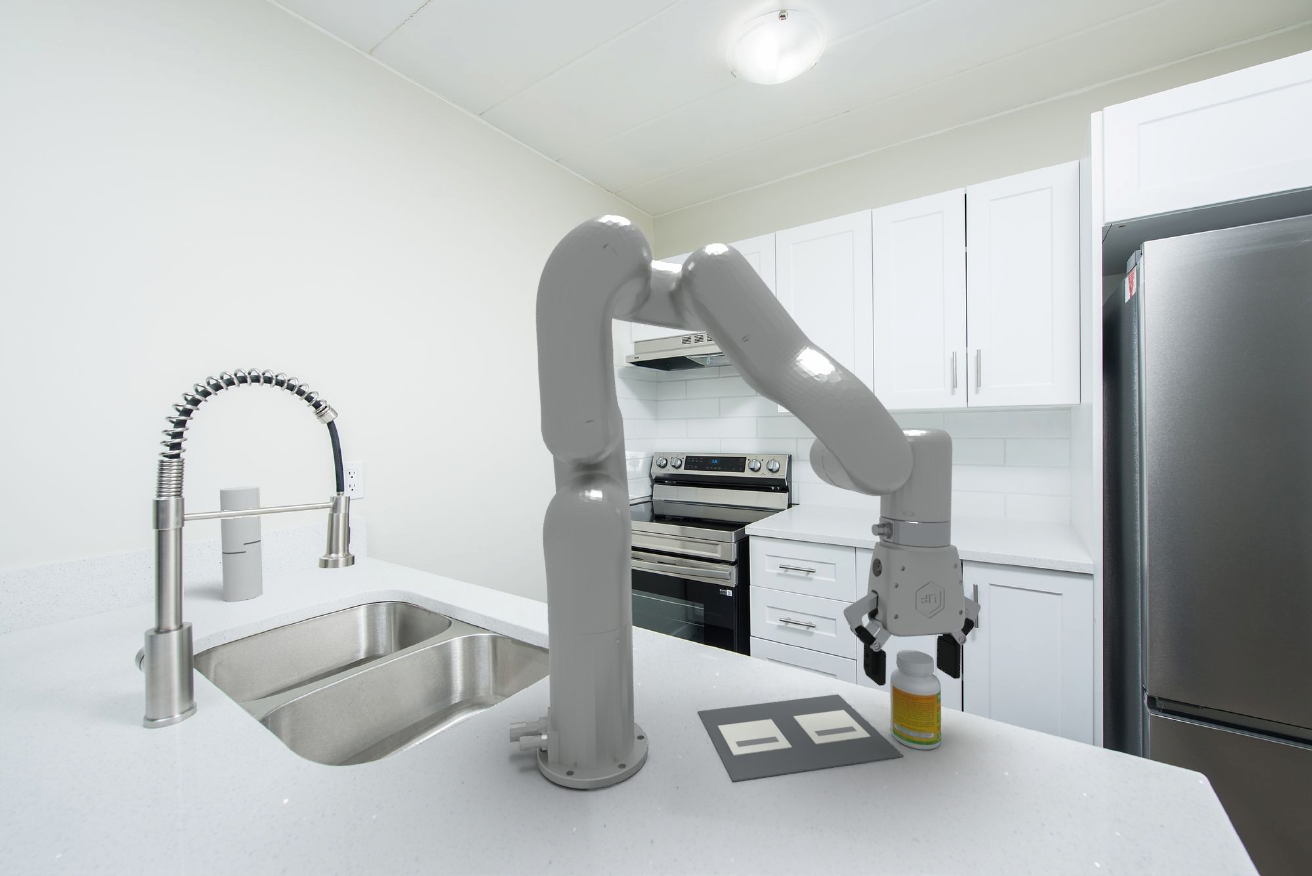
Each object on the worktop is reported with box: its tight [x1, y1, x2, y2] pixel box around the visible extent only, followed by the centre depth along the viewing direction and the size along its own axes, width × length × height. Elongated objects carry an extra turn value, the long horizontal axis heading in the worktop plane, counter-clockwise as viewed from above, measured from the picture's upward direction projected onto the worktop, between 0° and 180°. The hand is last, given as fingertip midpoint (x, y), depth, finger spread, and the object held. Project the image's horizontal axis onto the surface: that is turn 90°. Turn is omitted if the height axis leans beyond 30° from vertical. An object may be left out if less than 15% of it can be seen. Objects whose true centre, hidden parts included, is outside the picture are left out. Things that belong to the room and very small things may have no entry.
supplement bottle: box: [889, 649, 942, 751], centre depth 63 cm, size 5×5×10 cm
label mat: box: [697, 693, 905, 783], centre depth 65 cm, size 20×14×1 cm
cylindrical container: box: [219, 486, 264, 602], centre depth 123 cm, size 7×7×25 cm
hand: (912, 676), depth 63 cm, fingers open, 9 cm apart
